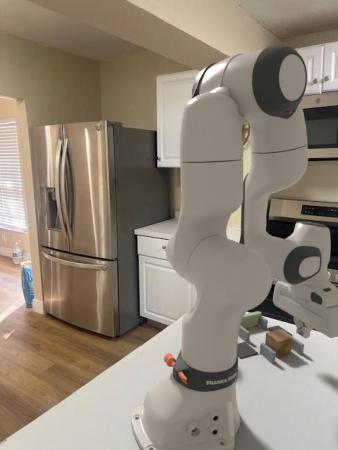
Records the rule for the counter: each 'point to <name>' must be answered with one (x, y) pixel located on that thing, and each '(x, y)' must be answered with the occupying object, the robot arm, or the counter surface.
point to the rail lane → (257, 319)
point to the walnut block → (279, 342)
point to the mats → (247, 350)
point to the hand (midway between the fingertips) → (302, 335)
